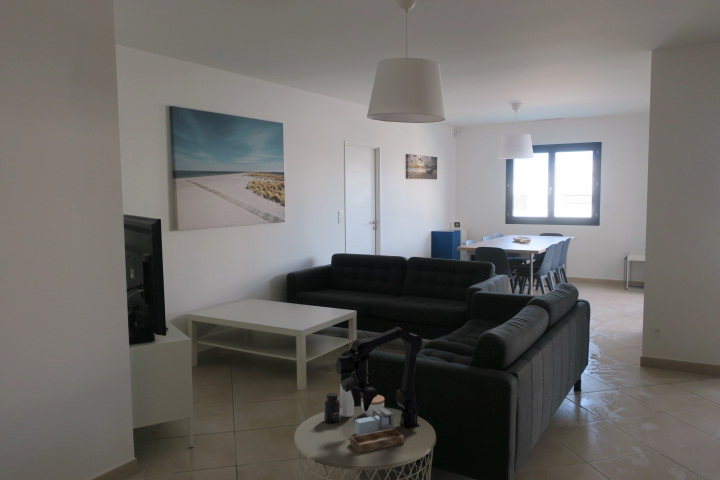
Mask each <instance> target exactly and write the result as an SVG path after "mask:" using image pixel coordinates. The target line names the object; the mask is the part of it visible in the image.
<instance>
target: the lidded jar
mask: <svg viewBox="0 0 720 480" xmlns="http://www.w3.org/2000/svg"><path fill="white" fill-rule="evenodd" d="M360 406H361V411H362V412H363V413H364V414H365V416H366V417H372V416H373V410H375V411H377V412H378V413H379V414H381V415H382V413H381V412H380V411H379V409H383V408H385V397H384V396H383V395H380V394H377V396H376V397H375V398H374V399H373V400H372V402H371V404H370V406H369V408H368V410H367V411H364V405H363V399H362V398H361V397H360ZM375 416H377V414H375Z"/></svg>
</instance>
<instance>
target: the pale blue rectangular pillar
mask: <svg viewBox="0 0 720 480" xmlns="http://www.w3.org/2000/svg"><path fill="white" fill-rule="evenodd" d="M381 415H382V426H384V425H389V417H388V416H386V415H384V414H383V413H382V414H381ZM377 431H379V416H378V415H377V416H372V417H368V416H366V417H362V418H356V419H355V420H354V434H355V436H357V435H362V434H367V433H372V432H377Z"/></svg>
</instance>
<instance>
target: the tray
mask: <svg viewBox="0 0 720 480" xmlns="http://www.w3.org/2000/svg"><path fill="white" fill-rule="evenodd" d="M404 443H405V435H403V434H402V433H401V432H399V431H398V430H397V429H396V428H392V429H387V430H382V431H377V432H372V433H367V434H362V435H354V436H353V435H352V436H349V445H350V446H351V447H352V448H353V449H354V450H355V451H356V452H358V453H359V454H360V453H365V452H370V451H376V450H379V449H383V448H389V447H392V446H397V445H401V444H404Z"/></svg>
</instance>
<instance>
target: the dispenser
mask: <svg viewBox="0 0 720 480" xmlns="http://www.w3.org/2000/svg"><path fill="white" fill-rule="evenodd" d="M379 411H380V412H381V414H379V413H378V412H377V411H375V410H373V416H375V414H377V415H378V416H379V431H382V430H387V429H392V428H394V422H395V421H394V418H395V417H394V414H395V413H393V412H392V411H390V410H388V409H387V408H385V407H384V408H383V409H379ZM383 414H384V415H386V416H388V417H389V425H384V426H382V415H383ZM394 429H395V428H394Z"/></svg>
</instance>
